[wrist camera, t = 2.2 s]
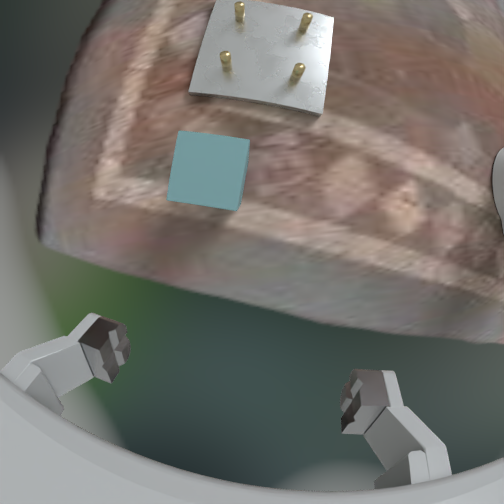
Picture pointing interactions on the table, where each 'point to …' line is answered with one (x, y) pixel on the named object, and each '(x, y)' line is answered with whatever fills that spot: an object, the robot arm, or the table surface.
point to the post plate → (265, 55)
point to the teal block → (208, 170)
